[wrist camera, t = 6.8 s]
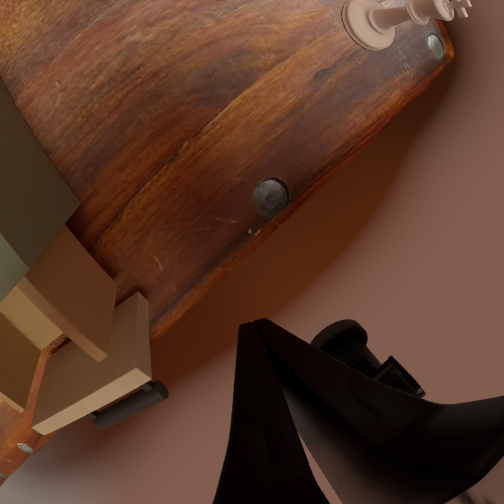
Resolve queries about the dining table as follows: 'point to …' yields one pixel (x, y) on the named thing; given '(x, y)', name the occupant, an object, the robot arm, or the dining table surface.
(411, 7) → the chess piece
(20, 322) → the drawer
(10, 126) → the cabinet
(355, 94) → the dining table surface
